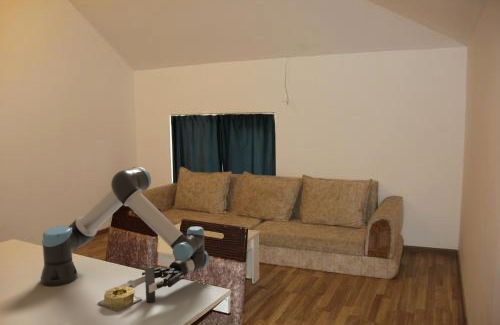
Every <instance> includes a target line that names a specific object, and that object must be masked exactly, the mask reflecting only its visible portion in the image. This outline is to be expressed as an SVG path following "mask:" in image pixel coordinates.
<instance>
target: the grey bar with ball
mask: <svg viewBox="0 0 500 325" xmlns="http://www.w3.org/2000/svg"><path fill="white" fill-rule="evenodd" d="M132 280H133V279H132ZM132 280H128V281H127V282H126V283H123V284H121V285H119V286H117V287H121V286H128V287H131V288H133V287H132Z"/></svg>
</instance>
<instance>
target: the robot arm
mask: <svg viewBox="0 0 500 325" xmlns="http://www.w3.org/2000/svg"><path fill="white" fill-rule="evenodd" d="M110 183H111V184H110V185H111V187H110V188H111V190H110V191H109V192H108V193H106V194H105V195H104V196H103V197H102V198H101V199H100V200H99V201H98V202H97V203H96V204H95V205H94V206H93V207H92V208H91V209H90V210H89V211H88V212H87V213H86V214H84V215H83V216H79V217H77V218H76V219H75V220H74V221H73V222H72V223H70V224H69V225H57V226H55V227H50V228H48V229H46V230H45V231H44V232H43V233H42V240H41V242H42V253H43V255H42V256H43V268H42V270H41V276H40V284H41V285H43V286H46V287H47V286H48V287H54V286H56V287H57V286H62V285H67V284H69V283H73V282H74V281H76V280H77V279H78V270H77V268H76V265H75V264H74V261H73V252H74V251H76V250H78V249H79V248H82V247H84V246H86V245H89V243H91V242H92V241H93V239H94V238H95V235H97V233H98V229H99V227H100V226H101V225H103V224H104V223H105V222H106V221H108V219H110V217H112V216H113V214H114V213H116V212H117V211H118V210H119V209H120V208H121V207H122V206H124V207H129V208H130V209H131V210H132V211H133V213H135V214H136V215H137V216H138V217H139V218H140V219H141V220H142V221H143V222H144V223H145V224H146V225H147V226H148V227H149V228H150V229H151V230H152V231H153V232H154V233H155V234H156V235H158V236H159V237H160V239H162V240H163V241H164V242H165V243H166V244H167V245H168V246H169V247H170V248H171V249H172V255H173V257H174V259H175V261H173V262H171V263H170V265H169V267H168V266H167V267H165V268H163V266H158V267H155V268H154V271H155V279H158V278H160V280H158V281H155V283H153V284H151V285H149V293H151V292H153V291H155V292H156V291H157V290H159V289H162V288H164V287H165V288H166V287H167V288H171V287H173V286H174V285H176V284H177V283H179V282H180V281H182V280H184V278H185V277H186V276H189V275H190V274H192V273H193V272H194V273H195V272H196V271H198V270H200V269H201V270H202V269H203V268H204V267H206V266H208V264H209V262H210V256H209V253H208V252H207V251H206V250H205V230H204V228H203V227H202V226H190V227H188V228H187V231H186V235H185V234H184V233H183V232H182V231H180V230H179V228H178V227H177V226H175V224H173V222H172V221H171V220H169V219H168V218H167V217H166V216H165V215H164V214H163V213H162V212H161V211H160V210H159V209H158V208H157V207H156V206H155V204H153V203H152V202H151V201H150V200H149V199H148V198H147V197H146V196H145V195H144V194H143V193H142V192H145V191H147V190H148V189H149V188H150V186H151V183H152V177H151V174H150V173H149V171H148V170H147V169H145V168H144V167H141V166H135V167H132V168H127V169H124V170H119V171H118V172H117V173H115V174H114V176H113V177H112V179H111V182H110ZM143 283H144V284H145V271H143V272H141V276H139V277H136V278H134V279H132V287H131V288H135V287H138V286H140V285H141V284H143Z"/></svg>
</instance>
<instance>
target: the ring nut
mask: <svg viewBox="0 0 500 325" xmlns="http://www.w3.org/2000/svg"><path fill="white" fill-rule="evenodd" d="M120 286H121V285H120ZM104 292H105V293H104V294H103V295H104V296H103V298H104V299H102V300H99V301H98V302H97V305H98V306H101V307H104V308H107V309H109V310H111V311H114V312H116V313H118V312H120V311H123V310H125V309H126V308H128V307H131V306H132V305H135V304H136V303H139V302H140V301H143V297H142V298H141V297H139V296H136V294H135V293H136V292H135V287H128V286H121V287H118V286H114V287H112V288H109V289H107V290H105V291H104Z"/></svg>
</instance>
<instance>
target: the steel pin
mask: <svg viewBox="0 0 500 325" xmlns="http://www.w3.org/2000/svg"><path fill="white" fill-rule="evenodd" d="M154 269H155V266H152V265H148V266H145V267H144V272H145V282H144V284H145V303H146V304H148V305H149V304H154V303H155V302H156V290H155V291H153V292H151V293H149V285H151V284H153V283H155V282H156V281H155V280H156V278H155V271H154Z"/></svg>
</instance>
